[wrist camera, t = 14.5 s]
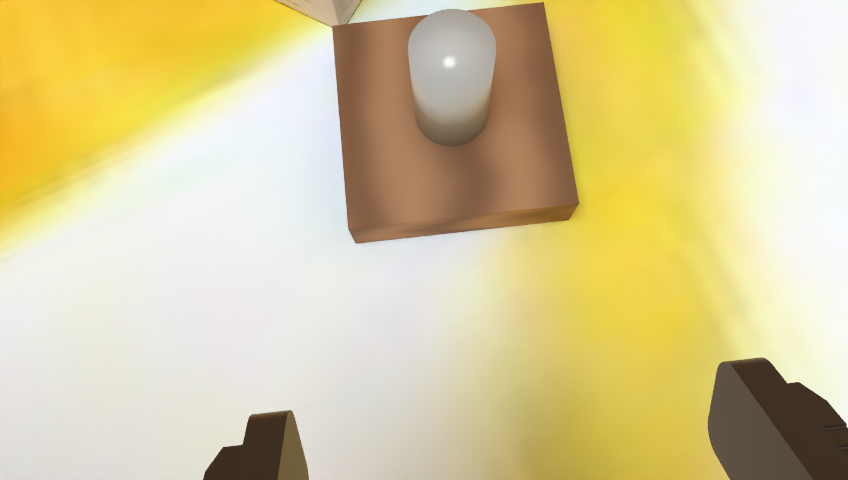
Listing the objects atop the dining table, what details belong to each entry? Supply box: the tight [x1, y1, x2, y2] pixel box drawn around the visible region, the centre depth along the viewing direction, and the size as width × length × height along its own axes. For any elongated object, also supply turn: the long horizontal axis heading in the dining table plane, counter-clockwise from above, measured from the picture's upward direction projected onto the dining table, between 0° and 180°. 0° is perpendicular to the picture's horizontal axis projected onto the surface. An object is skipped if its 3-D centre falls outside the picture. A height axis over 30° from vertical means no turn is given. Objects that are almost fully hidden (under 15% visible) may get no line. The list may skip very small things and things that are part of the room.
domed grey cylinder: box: [408, 9, 496, 146], centre depth 38 cm, size 5×5×8 cm
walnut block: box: [332, 2, 579, 243], centre depth 43 cm, size 14×14×4 cm
